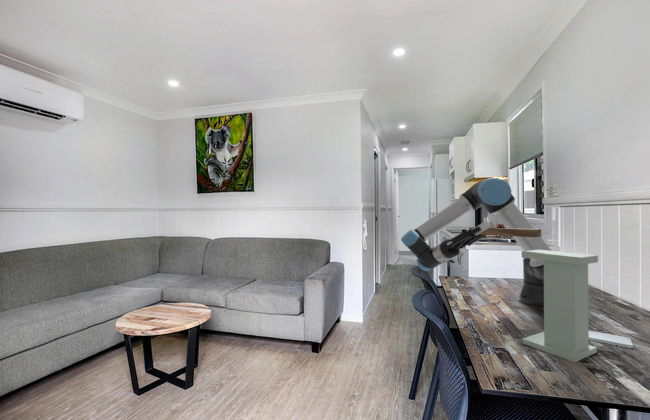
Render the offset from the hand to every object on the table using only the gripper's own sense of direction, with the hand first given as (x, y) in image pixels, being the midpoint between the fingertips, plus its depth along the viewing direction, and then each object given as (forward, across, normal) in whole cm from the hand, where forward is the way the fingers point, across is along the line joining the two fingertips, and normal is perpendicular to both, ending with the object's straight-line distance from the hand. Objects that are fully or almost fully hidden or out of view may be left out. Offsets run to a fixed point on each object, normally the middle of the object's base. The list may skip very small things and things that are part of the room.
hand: (491, 224), depth 113 cm
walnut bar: (+1, 0, -5) cm, 6 cm away
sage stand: (-1, -1, -43) cm, 43 cm away
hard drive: (+2, -22, -46) cm, 50 cm away
